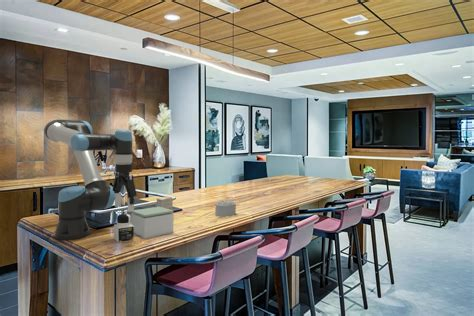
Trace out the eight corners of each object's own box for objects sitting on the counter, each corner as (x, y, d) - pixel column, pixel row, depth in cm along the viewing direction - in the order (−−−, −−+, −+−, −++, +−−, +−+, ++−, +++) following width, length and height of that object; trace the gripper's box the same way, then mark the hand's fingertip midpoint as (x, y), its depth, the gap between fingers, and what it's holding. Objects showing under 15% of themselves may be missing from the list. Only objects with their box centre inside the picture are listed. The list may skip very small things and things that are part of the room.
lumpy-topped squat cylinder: (237, 214, 214) (238, 201, 214) (222, 218, 205) (222, 203, 205) (226, 211, 222) (226, 198, 221) (211, 214, 213) (211, 201, 212)
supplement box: (167, 217, 202) (167, 196, 201) (172, 219, 199) (172, 197, 198) (156, 220, 196) (156, 198, 195) (161, 221, 193) (161, 199, 192)
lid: (144, 217, 161) (144, 215, 161) (131, 212, 171) (131, 210, 171) (173, 212, 172) (173, 210, 172) (159, 208, 182) (159, 206, 182)
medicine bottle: (118, 243, 155) (118, 217, 154) (113, 239, 161) (113, 214, 160) (133, 240, 159) (133, 215, 158) (128, 236, 165) (128, 212, 164)
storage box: (144, 239, 162) (144, 218, 161) (131, 232, 172) (131, 212, 171) (173, 232, 173) (173, 213, 172) (159, 226, 183) (159, 208, 182)
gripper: (144, 165, 151) (144, 212, 152) (120, 161, 169) (120, 203, 170) (128, 166, 145) (128, 214, 147) (105, 162, 164) (105, 205, 165)
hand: (124, 208), depth 158 cm, fingers open, 13 cm apart
